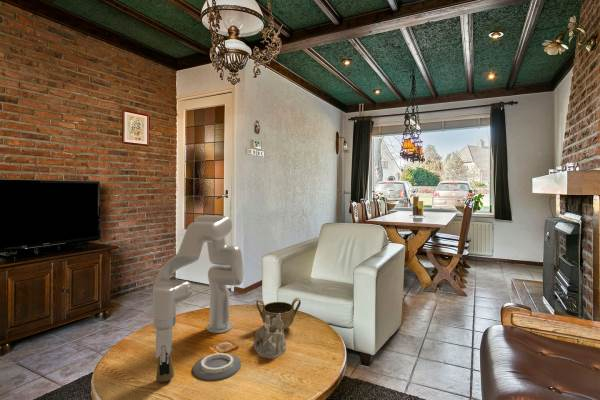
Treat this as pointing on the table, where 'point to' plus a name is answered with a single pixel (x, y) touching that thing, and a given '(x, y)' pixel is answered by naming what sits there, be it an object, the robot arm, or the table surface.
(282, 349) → the ceramic cottage
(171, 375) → the cork
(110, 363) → the table surface
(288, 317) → the ceramic bowl
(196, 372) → the round tray
